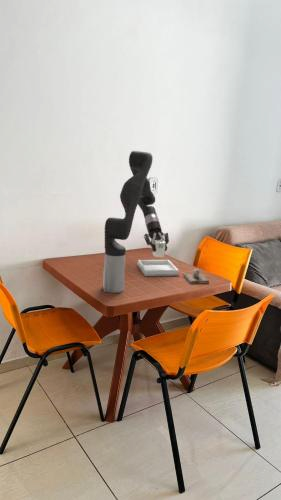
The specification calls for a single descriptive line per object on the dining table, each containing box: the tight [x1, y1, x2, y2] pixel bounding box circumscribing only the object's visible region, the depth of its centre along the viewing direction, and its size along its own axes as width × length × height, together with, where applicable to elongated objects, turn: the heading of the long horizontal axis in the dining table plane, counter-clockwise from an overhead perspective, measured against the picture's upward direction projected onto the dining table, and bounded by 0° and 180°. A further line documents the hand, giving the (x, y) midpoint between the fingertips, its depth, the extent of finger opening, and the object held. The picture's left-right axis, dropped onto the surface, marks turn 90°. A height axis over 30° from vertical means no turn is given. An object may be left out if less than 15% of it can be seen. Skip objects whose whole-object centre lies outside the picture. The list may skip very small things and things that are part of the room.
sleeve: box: [152, 240, 166, 258], centre depth 203 cm, size 5×6×8 cm
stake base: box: [182, 268, 210, 285], centre depth 194 cm, size 10×10×6 cm
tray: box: [137, 259, 180, 277], centre depth 206 cm, size 18×18×3 cm
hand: (160, 250), depth 202 cm, fingers closed on sleeve, 5 cm apart
